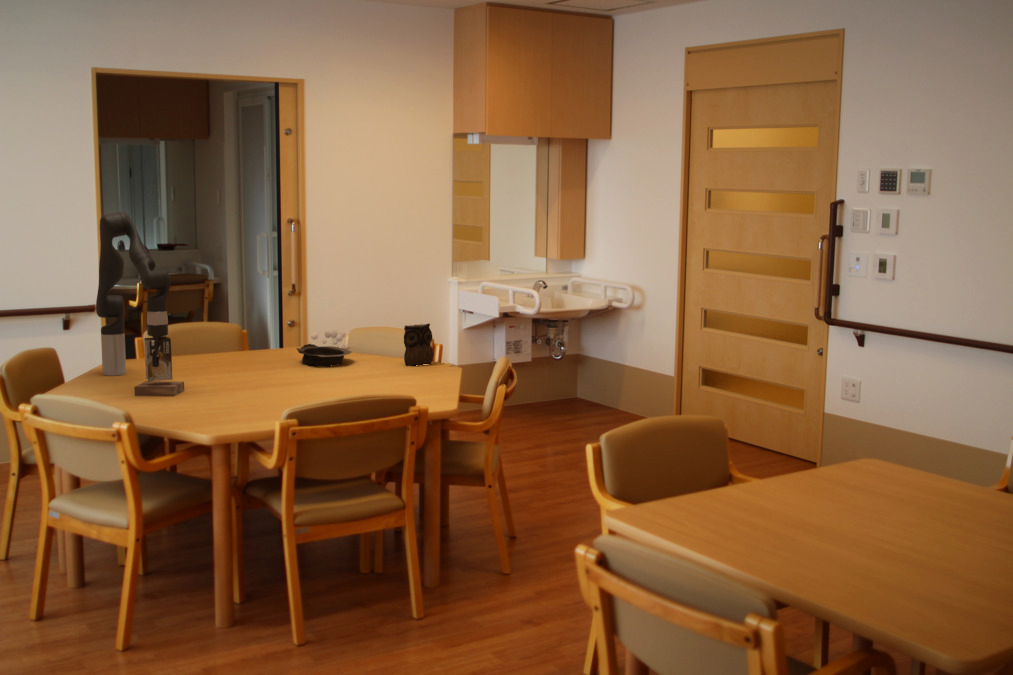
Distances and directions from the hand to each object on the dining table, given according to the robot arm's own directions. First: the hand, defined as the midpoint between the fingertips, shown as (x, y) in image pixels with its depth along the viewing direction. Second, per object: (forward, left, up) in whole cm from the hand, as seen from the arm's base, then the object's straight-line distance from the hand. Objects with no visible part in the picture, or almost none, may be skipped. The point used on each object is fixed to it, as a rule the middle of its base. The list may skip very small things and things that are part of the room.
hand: (158, 365), depth 376 cm
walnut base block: (0, 0, -11) cm, 11 cm away
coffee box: (0, 0, -6) cm, 6 cm away
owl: (-66, +97, -11) cm, 118 cm away
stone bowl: (-68, +55, -11) cm, 88 cm away
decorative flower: (-97, +52, -11) cm, 111 cm away
